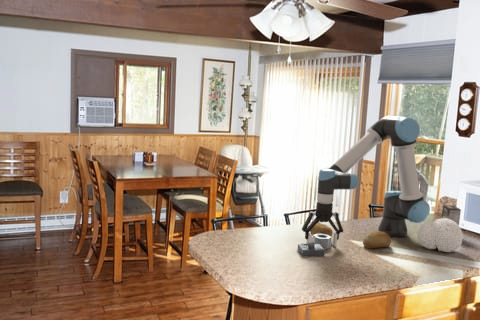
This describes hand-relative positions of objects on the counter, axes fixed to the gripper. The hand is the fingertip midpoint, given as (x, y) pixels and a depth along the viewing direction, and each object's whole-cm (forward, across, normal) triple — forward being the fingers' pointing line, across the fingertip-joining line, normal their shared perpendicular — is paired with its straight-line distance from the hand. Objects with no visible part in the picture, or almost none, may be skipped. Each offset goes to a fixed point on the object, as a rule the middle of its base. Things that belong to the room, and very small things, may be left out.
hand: (321, 246), depth 226 cm
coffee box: (0, -77, -20) cm, 80 cm away
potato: (0, -3, -11) cm, 11 cm away
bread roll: (+1, -28, 0) cm, 28 cm away
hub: (0, 0, 0) cm, 0 cm away
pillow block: (0, +8, +10) cm, 13 cm away
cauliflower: (0, -57, +4) cm, 58 cm away
